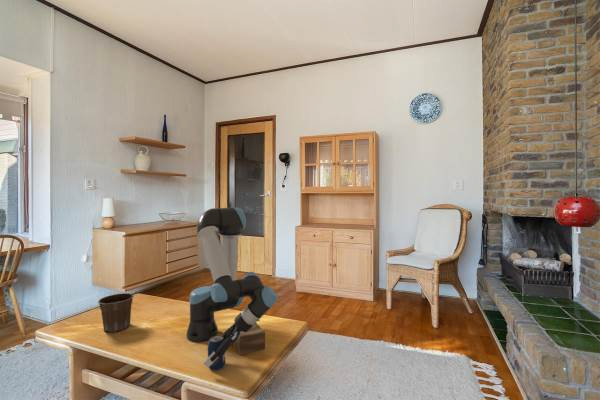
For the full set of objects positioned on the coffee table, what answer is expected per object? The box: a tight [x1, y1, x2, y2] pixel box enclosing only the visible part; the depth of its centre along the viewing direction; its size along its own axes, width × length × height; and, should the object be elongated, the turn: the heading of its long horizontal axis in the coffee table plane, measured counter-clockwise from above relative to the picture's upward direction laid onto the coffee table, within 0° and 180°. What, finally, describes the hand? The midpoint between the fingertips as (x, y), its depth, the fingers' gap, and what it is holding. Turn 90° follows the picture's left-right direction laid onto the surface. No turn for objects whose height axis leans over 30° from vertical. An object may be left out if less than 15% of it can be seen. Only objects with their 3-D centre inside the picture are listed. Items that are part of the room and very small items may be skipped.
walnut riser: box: [232, 322, 266, 356], centre depth 140 cm, size 12×12×8 cm
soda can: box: [207, 334, 226, 372], centre depth 123 cm, size 7×7×12 cm
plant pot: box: [97, 292, 134, 333], centre depth 160 cm, size 16×16×16 cm
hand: (209, 357), depth 123 cm, fingers open, 10 cm apart
